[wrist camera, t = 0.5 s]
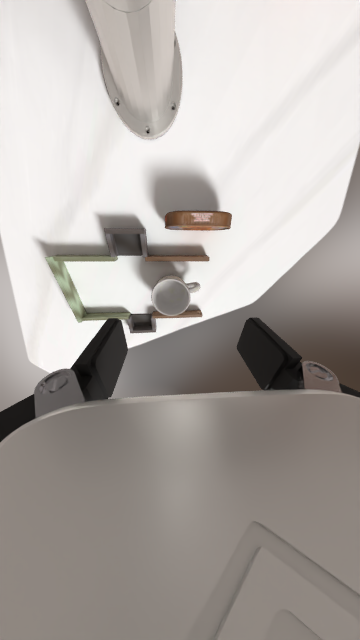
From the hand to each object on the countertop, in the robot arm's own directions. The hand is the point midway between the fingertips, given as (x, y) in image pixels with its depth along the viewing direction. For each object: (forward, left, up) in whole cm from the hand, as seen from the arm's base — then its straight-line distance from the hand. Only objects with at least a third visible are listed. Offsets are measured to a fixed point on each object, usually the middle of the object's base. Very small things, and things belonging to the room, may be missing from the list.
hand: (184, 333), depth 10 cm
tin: (-8, +6, -34) cm, 35 cm away
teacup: (+9, +1, -34) cm, 35 cm away
